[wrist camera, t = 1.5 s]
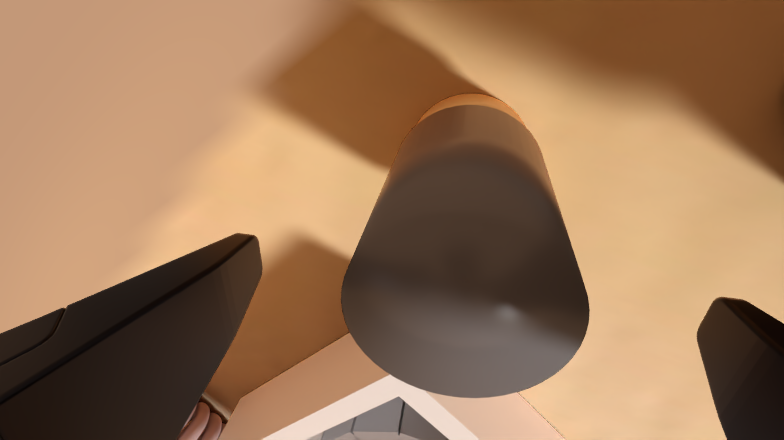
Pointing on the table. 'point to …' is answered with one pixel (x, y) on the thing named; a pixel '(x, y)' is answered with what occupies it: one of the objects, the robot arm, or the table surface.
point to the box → (373, 406)
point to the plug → (467, 259)
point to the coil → (202, 425)
